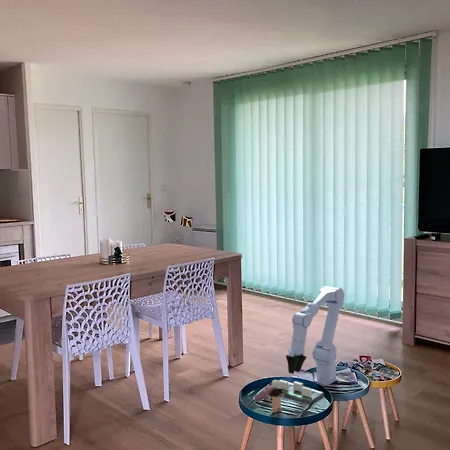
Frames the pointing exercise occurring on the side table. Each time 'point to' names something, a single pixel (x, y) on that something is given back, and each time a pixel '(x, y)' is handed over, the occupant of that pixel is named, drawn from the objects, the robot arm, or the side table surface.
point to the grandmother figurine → (276, 396)
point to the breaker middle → (297, 386)
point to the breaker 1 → (283, 384)
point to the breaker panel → (298, 395)
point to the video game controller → (264, 393)
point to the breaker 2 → (306, 391)
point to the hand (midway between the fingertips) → (294, 372)
